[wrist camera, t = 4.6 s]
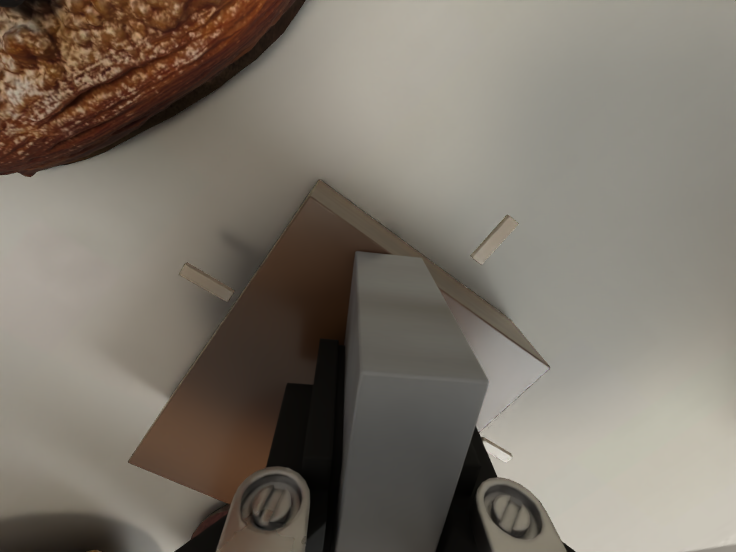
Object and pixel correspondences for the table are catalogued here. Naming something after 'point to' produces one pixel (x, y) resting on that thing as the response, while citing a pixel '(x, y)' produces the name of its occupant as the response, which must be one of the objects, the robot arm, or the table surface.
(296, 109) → the table surface
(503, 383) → the base
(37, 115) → the pastry
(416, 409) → the spout
